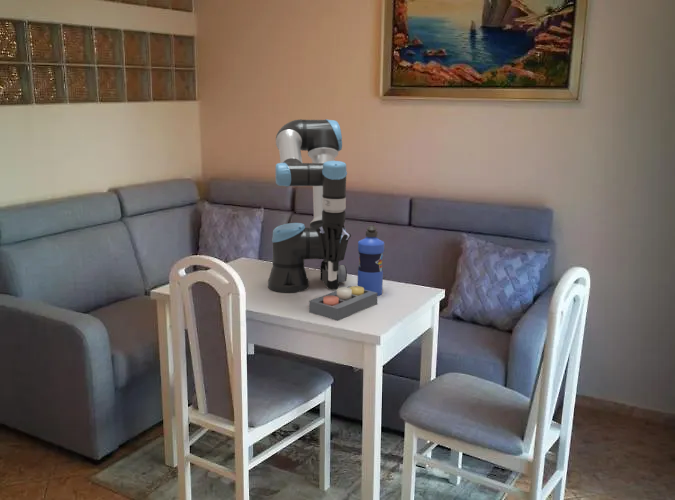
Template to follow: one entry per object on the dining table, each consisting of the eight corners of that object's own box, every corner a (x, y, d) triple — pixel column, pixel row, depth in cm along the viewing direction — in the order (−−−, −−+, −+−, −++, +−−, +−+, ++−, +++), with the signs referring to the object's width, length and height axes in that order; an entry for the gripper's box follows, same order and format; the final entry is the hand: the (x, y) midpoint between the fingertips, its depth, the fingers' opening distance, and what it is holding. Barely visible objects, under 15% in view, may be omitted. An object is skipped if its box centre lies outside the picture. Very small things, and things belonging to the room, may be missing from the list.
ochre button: (346, 297, 231) (346, 288, 230) (355, 293, 235) (355, 285, 234) (357, 300, 228) (358, 291, 227) (366, 296, 232) (366, 288, 231)
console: (309, 312, 222) (309, 300, 221) (349, 296, 239) (349, 285, 238) (337, 320, 215) (337, 308, 214) (377, 303, 231) (377, 292, 230)
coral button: (320, 307, 220) (320, 298, 220) (329, 303, 224) (329, 294, 223) (332, 310, 217) (332, 301, 217) (341, 307, 221) (341, 297, 220)
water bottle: (353, 295, 240) (355, 227, 234) (360, 288, 249) (362, 221, 242) (379, 298, 237) (381, 229, 231) (385, 290, 246) (387, 224, 240)
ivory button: (333, 298, 225) (333, 289, 225) (342, 295, 229) (343, 286, 228) (345, 302, 222) (345, 292, 222) (354, 298, 226) (354, 289, 225)
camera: (350, 290, 246) (351, 264, 243) (326, 291, 244) (327, 265, 241) (340, 278, 260) (340, 253, 258) (317, 279, 258) (317, 254, 256)
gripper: (310, 208, 216) (310, 278, 223) (342, 215, 208) (340, 287, 215) (325, 205, 222) (324, 272, 228) (357, 211, 214) (354, 281, 220)
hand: (332, 279), depth 221 cm, fingers closed
